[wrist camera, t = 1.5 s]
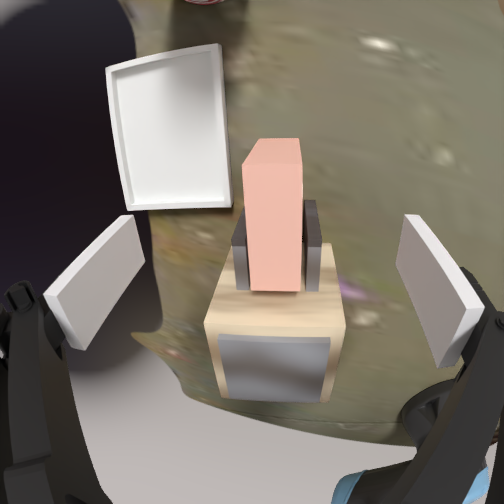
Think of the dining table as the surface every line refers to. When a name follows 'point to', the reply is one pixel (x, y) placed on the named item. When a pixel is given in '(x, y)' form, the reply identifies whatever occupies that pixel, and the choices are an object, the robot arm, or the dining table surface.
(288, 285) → the tall salmon pink block
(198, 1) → the soda can
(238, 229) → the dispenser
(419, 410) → the robot arm
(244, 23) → the dining table surface
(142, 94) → the tray
